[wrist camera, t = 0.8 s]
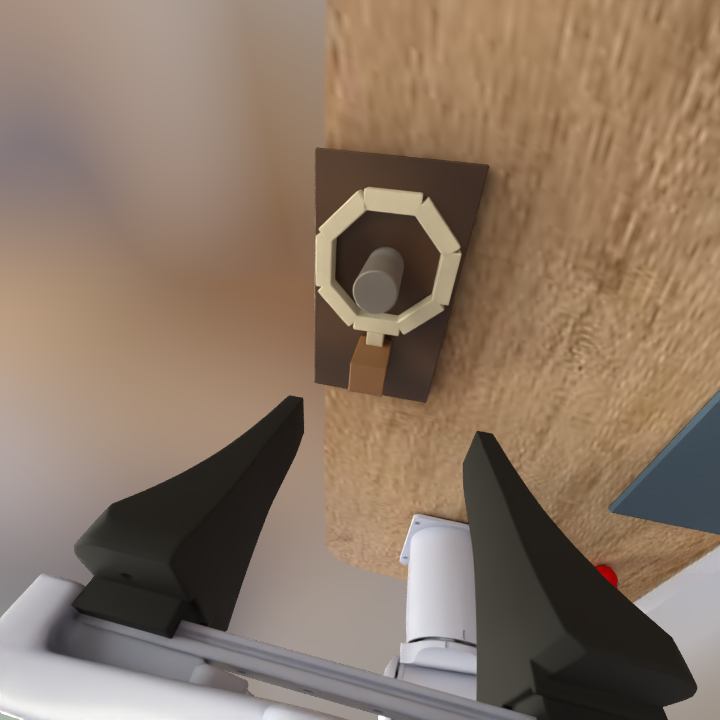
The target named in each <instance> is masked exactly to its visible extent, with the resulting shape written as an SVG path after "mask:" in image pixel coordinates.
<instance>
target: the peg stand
mask: <svg viewBox="0 0 720 720" xmlns="http://www.w3.org/2000/svg"><path fill="white" fill-rule="evenodd" d="M488 169H489V165H487V164H477V163H467V162H457V161H447V160H437V159H426V158H416V157H406V156H396V155H386V154H376V153H366V152H356V151H346V150H336V149H326V148H315V383H319V384H324V385H330V386H335V387H341V388H346V389H348V387H349V375H350V363H351V360H352V358H353V355H354V352H355V350H356V347H357V344H358V341H359V339H360V336H366V337H367V332H368V331H363V330H356V329H354V328H353V325H354V323H353V324H352V325H350V326H348V325H347V324H346V323H345V322H344V321H343V320H342V318H341V317H340V316H339V315H338V314H337V313H336V312H335V310H334V309H333V308H332V307H331V306H330V305H329V304H328V302H327V301H326V300H325V299H324V298H323V297H322V296H321V295H320V293H319V292H318V290H319V289H320V288H321V286H316V235H317V234H319V233H320V231H319V228H320V227H321V226H322V225H323V224H324V223H325V222H326V221H327V220H328V219H329V218H330V217H331V216H332V215H333V214H334V213H335V212H336V211H337V210H338V209H339V208H340V207H341V206H342V205H343V204H344V203H345V202H347V201H348V200H349V199H350V198H351V197H352V196H353V195H354V194H355V193H356V192H357V191H359V190H363V192H364V189H365V188H367V187H375V188H384V189H393V190H402V191H411V192H420V193H423V200H422V202H423V201H424V200H425V199H426V198H427V197H430V198H431V200H432V202H433V203H434V205H435V206H436V208H437V209H438V211H439V212H440V214H441V216H442V217H443V219H444V220H445V222H446V223H447V225H448V226H449V228H450V229H451V231H452V233H453V234H454V236H455V237H456V239H457V240H458V242H459V244H460V247H461V248H460V251H461V254H462V255H461V259H460V263H459V267H458V271H457V275H456V278H455V282H454V286H453V290H452V294H451V298H450V301H449V305H444V311H442V312H441V313H439V314H437V315H436V316H434V317H432V318H431V319H429V320H428V321H426V322H424V323H423V324H421V325H419V326H418V327H416V328H415V329H413V330H411V331H410V332H408V333H407V334H405V335H404V334H403V333H402V332H401V331H400V332H399V336H394V335H388V334H385V337H384V339H385V340H391V341H392V344H391V350H390V357H389V363H388V369H387V374H386V379H385V385H384V390H383V395H385V396H391V397H396V398H402V399H407V400H413V401H418V402H424V403H426V401H427V397H428V394H429V390H430V386H431V382H432V379H433V375H434V371H435V367H436V364H437V360H438V356H439V352H440V349H441V345H442V341H443V337H444V334H445V330H446V326H447V323H448V319H449V315H450V311H451V308H452V304H453V300H454V296H455V293H456V289H457V285H458V281H459V278H460V274H461V270H462V266H463V263H464V259H465V255H466V252H467V248H468V244H469V240H470V237H471V233H472V229H473V225H474V222H475V218H476V214H477V210H478V207H479V203H480V199H481V195H482V192H483V188H484V184H485V181H486V177H487V173H488ZM440 255H441V253H440V252H439V250H438V249H437V247H436V246H435V244H434V243H433V241H432V240H431V238H430V237H429V236H428V234H427V233H426V231H425V230H424V228H423V227H422V225H421V224H420V222H419V221H418V219H417V218H416V216H412V215H404V214H395V213H387V212H378V211H370V210H367V211H366V212H365V213H363V214H362V215H361V216H360V217H359V218H358V219H357V220H356V221H355V222H354V223H352V224H351V225H350V226H349V227H348V228H347V229H346V230H345V231H344V232H343V233H341V234H340V235H339V236H338V237H337V243H336V269H335V280H336V281H337V282H338V283H339V285H340V286H341V287H342V288H343V289H344V291H345V292H346V293H347V294H348V295H349V297H350V298H351V299H352V300H353V301H354V302H355V304H356V305H357V306H358V307H359V308H360V310H364V311H366V312H368V313H372V314H381V313H385V314H392V315H400V314H402V313H403V312H405V311H406V310H408V309H409V308H411V307H412V306H414V305H415V304H417V303H418V302H420V301H421V300H423V299H424V298H426V297H427V296H429V295H431V294H432V291H433V286H434V282H435V278H436V273H437V269H438V264H439V260H440Z"/></svg>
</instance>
